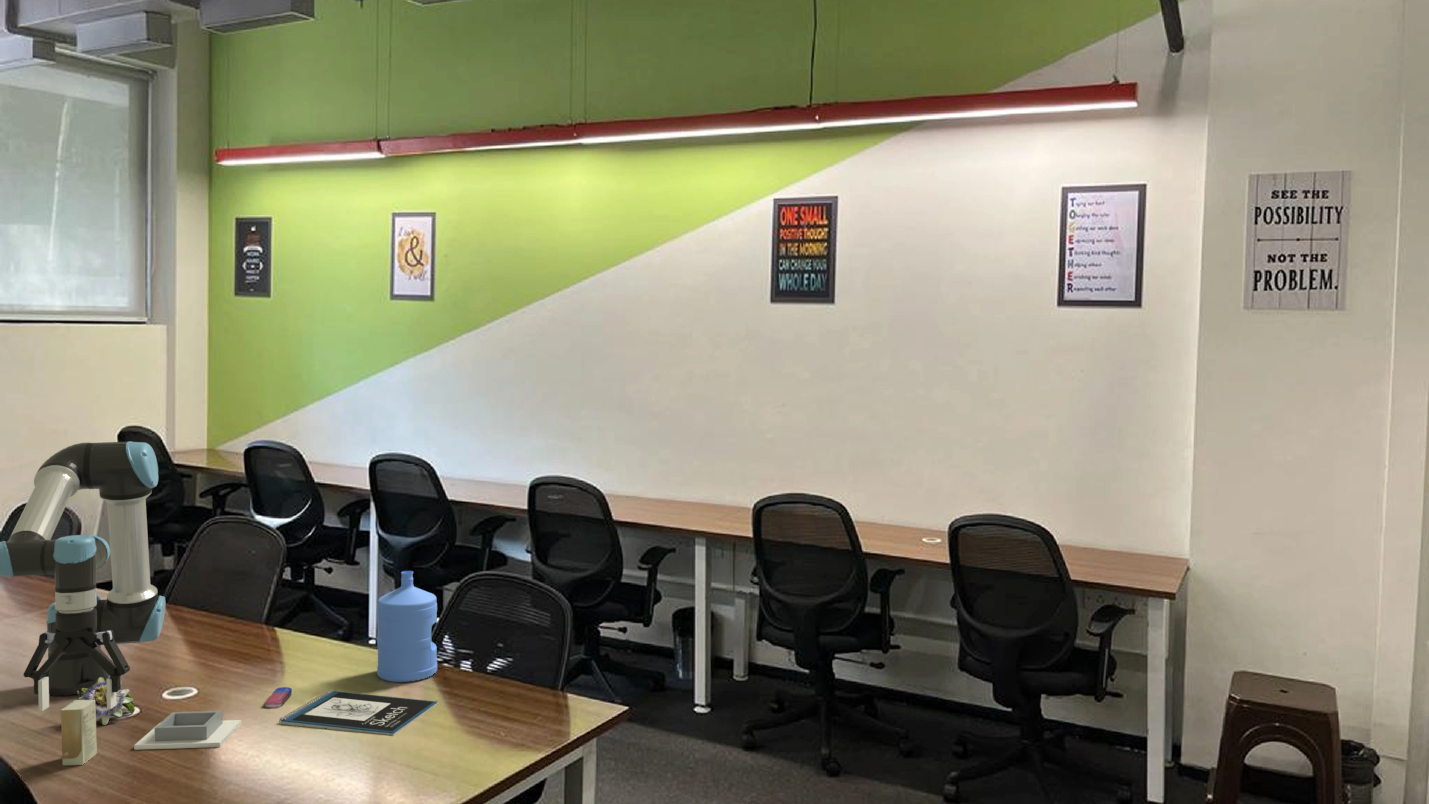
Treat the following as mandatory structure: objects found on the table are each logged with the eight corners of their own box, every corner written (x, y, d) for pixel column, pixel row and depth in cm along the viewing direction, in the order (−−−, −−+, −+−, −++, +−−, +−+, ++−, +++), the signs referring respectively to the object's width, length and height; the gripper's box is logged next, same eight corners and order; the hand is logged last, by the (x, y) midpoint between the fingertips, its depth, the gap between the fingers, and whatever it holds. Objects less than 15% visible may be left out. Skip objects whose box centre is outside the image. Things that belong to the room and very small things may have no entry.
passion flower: (105, 747, 245) (74, 715, 238) (90, 726, 252) (59, 696, 245) (149, 712, 251) (119, 680, 244) (133, 693, 258) (104, 662, 251)
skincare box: (76, 754, 227) (75, 699, 226) (97, 754, 227) (96, 698, 227) (60, 766, 220) (59, 709, 220) (82, 766, 221) (81, 709, 220)
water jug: (401, 687, 273) (400, 581, 272) (365, 675, 283) (364, 572, 281) (449, 672, 286) (449, 571, 284) (413, 661, 295) (413, 563, 294)
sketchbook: (393, 738, 240) (393, 729, 240) (277, 726, 246) (276, 718, 246) (437, 706, 261) (437, 698, 261) (328, 696, 267) (328, 688, 267)
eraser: (280, 709, 257) (280, 702, 257) (263, 710, 256) (263, 702, 256) (293, 693, 268) (293, 686, 268) (277, 693, 268) (277, 686, 267)
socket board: (134, 749, 230) (133, 731, 230) (160, 726, 244) (160, 709, 244) (220, 747, 232) (219, 729, 232) (241, 724, 246) (241, 707, 246)
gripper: (3, 614, 217) (5, 715, 218) (130, 612, 220) (132, 712, 221) (22, 606, 224) (25, 704, 225) (145, 604, 227) (147, 700, 228)
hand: (78, 708), depth 223 cm, fingers open, 13 cm apart
